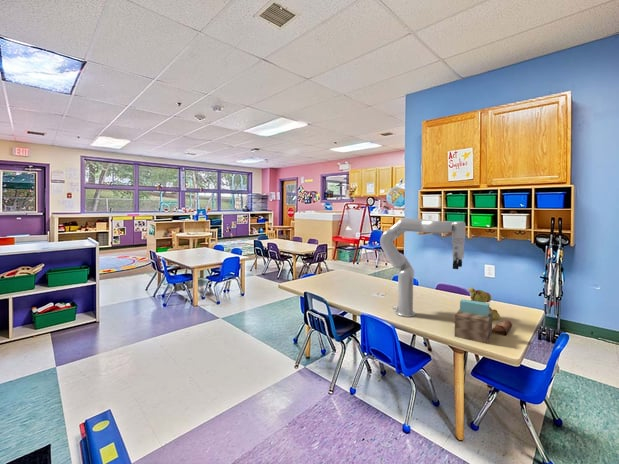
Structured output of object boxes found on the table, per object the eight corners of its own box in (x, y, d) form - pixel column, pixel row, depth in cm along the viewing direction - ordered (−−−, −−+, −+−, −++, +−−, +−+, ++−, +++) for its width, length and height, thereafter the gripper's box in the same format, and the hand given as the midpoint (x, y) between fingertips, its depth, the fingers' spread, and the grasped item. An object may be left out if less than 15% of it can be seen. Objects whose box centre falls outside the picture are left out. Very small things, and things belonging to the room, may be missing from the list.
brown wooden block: (454, 336, 169) (455, 314, 168) (461, 325, 185) (462, 305, 184) (487, 343, 160) (488, 320, 159) (492, 331, 175) (492, 310, 174)
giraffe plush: (503, 317, 198) (504, 288, 197) (488, 326, 184) (489, 295, 182) (471, 309, 214) (471, 282, 213) (454, 317, 200) (455, 288, 198)
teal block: (459, 311, 174) (460, 301, 173) (461, 309, 178) (461, 299, 177) (487, 316, 165) (488, 305, 165) (489, 313, 169) (489, 303, 169)
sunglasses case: (495, 323, 188) (502, 315, 185) (506, 331, 184) (514, 323, 182) (489, 332, 175) (496, 323, 172) (501, 341, 171) (509, 332, 168)
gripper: (461, 242, 181) (460, 270, 182) (467, 240, 195) (466, 266, 196) (448, 241, 186) (447, 269, 187) (455, 239, 199) (454, 265, 201)
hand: (457, 267), depth 191 cm, fingers open, 9 cm apart
